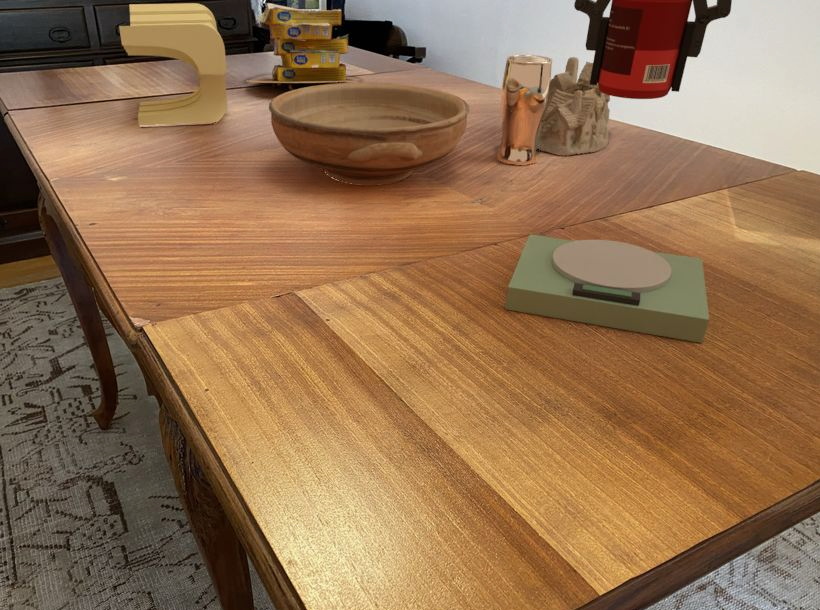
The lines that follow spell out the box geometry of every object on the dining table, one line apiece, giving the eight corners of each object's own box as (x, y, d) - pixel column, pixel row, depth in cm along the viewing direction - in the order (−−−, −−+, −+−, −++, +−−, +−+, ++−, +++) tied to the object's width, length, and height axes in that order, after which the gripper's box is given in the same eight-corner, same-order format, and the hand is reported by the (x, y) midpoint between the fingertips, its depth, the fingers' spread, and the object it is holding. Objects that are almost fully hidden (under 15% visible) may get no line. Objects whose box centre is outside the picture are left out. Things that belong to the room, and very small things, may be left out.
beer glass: (484, 159, 112) (495, 58, 104) (512, 150, 115) (524, 52, 108) (520, 169, 107) (534, 64, 99) (547, 160, 111) (563, 59, 103)
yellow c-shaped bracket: (232, 136, 122) (222, 23, 112) (137, 141, 119) (119, 26, 110) (222, 97, 147) (214, 2, 137) (143, 101, 144) (129, 4, 134)
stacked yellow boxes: (254, 77, 165) (248, -2, 156) (360, 78, 165) (360, -2, 156) (240, 101, 144) (233, 11, 135) (361, 102, 144) (362, 12, 135)
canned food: (678, 90, 78) (705, -21, 73) (658, 103, 73) (685, -16, 67) (610, 81, 82) (630, -25, 76) (586, 93, 77) (605, -21, 71)
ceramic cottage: (554, 122, 130) (566, 35, 122) (627, 146, 119) (646, 53, 110) (491, 140, 123) (500, 49, 115) (563, 168, 112) (578, 70, 104)
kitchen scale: (695, 279, 75) (703, 252, 74) (702, 343, 64) (711, 312, 63) (526, 254, 81) (530, 228, 79) (504, 309, 69) (508, 280, 68)
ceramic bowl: (266, 140, 120) (262, 78, 114) (430, 134, 123) (433, 74, 118) (280, 221, 89) (276, 141, 83) (498, 210, 92) (508, 133, 87)
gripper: (568, -174, 65) (533, 84, 77) (819, -181, 59) (739, 101, 71) (577, -166, 71) (544, 72, 83) (807, -172, 65) (734, 86, 77)
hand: (634, 85), depth 77 cm, fingers closed on canned food, 8 cm apart
